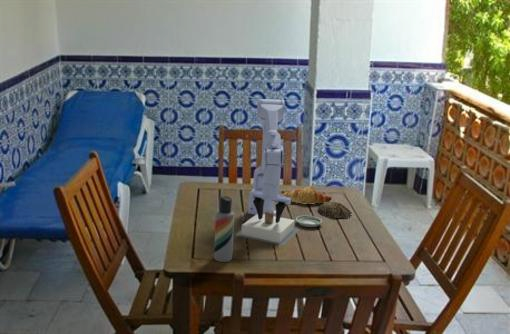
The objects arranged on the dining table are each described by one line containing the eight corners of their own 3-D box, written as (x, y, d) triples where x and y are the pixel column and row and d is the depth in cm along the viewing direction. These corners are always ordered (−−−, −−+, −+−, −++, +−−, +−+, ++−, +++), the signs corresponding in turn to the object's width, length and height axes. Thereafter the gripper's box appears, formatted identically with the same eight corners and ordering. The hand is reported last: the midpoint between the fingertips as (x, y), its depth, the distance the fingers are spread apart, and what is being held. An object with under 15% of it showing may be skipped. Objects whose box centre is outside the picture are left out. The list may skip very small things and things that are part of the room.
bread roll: (314, 210, 220) (315, 198, 219) (340, 207, 225) (342, 196, 224) (329, 221, 209) (331, 208, 208) (357, 218, 213) (359, 206, 212)
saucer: (327, 226, 203) (327, 220, 202) (311, 232, 196) (311, 226, 195) (306, 219, 209) (306, 213, 209) (290, 225, 202) (290, 218, 202)
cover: (241, 234, 189) (242, 214, 187) (257, 222, 202) (258, 203, 200) (279, 243, 184) (281, 222, 182) (294, 229, 197) (295, 210, 195)
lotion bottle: (213, 254, 173) (216, 194, 168) (231, 254, 174) (234, 194, 168) (213, 262, 168) (216, 200, 162) (232, 262, 168) (235, 200, 163)
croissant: (279, 210, 228) (280, 196, 222) (280, 192, 235) (281, 179, 230) (331, 212, 227) (332, 199, 221) (330, 195, 234) (332, 181, 229)
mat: (234, 235, 189) (234, 234, 189) (254, 220, 204) (254, 220, 204) (283, 246, 182) (283, 245, 182) (300, 230, 197) (300, 229, 197)
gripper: (247, 182, 187) (245, 219, 191) (287, 189, 182) (284, 227, 186) (255, 177, 194) (253, 213, 197) (294, 184, 188) (291, 221, 192)
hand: (268, 220), depth 192 cm, fingers open, 6 cm apart
